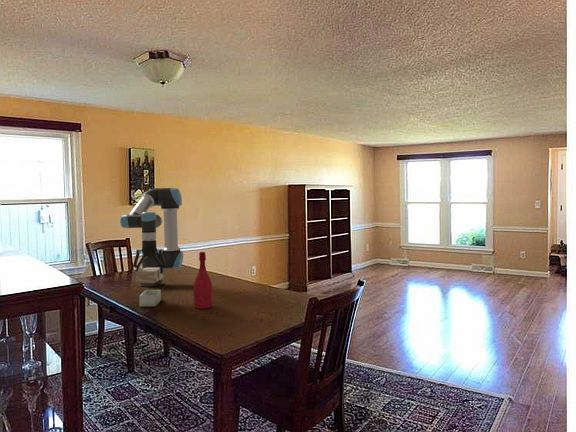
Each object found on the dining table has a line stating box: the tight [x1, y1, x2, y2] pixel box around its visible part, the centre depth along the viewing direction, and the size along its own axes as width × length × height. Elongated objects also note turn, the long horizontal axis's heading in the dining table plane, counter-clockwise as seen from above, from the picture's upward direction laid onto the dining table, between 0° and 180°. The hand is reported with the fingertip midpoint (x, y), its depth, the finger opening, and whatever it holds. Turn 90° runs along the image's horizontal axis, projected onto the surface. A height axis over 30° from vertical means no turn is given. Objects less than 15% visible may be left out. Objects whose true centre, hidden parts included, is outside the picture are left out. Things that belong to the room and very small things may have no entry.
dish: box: [138, 289, 162, 307], centre depth 238 cm, size 13×8×6 cm, turn 4°
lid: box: [135, 267, 164, 284], centre depth 238 cm, size 15×10×6 cm, turn 177°
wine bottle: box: [193, 251, 213, 310], centre depth 229 cm, size 10×10×30 cm
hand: (150, 279), depth 238 cm, fingers closed on lid, 10 cm apart
